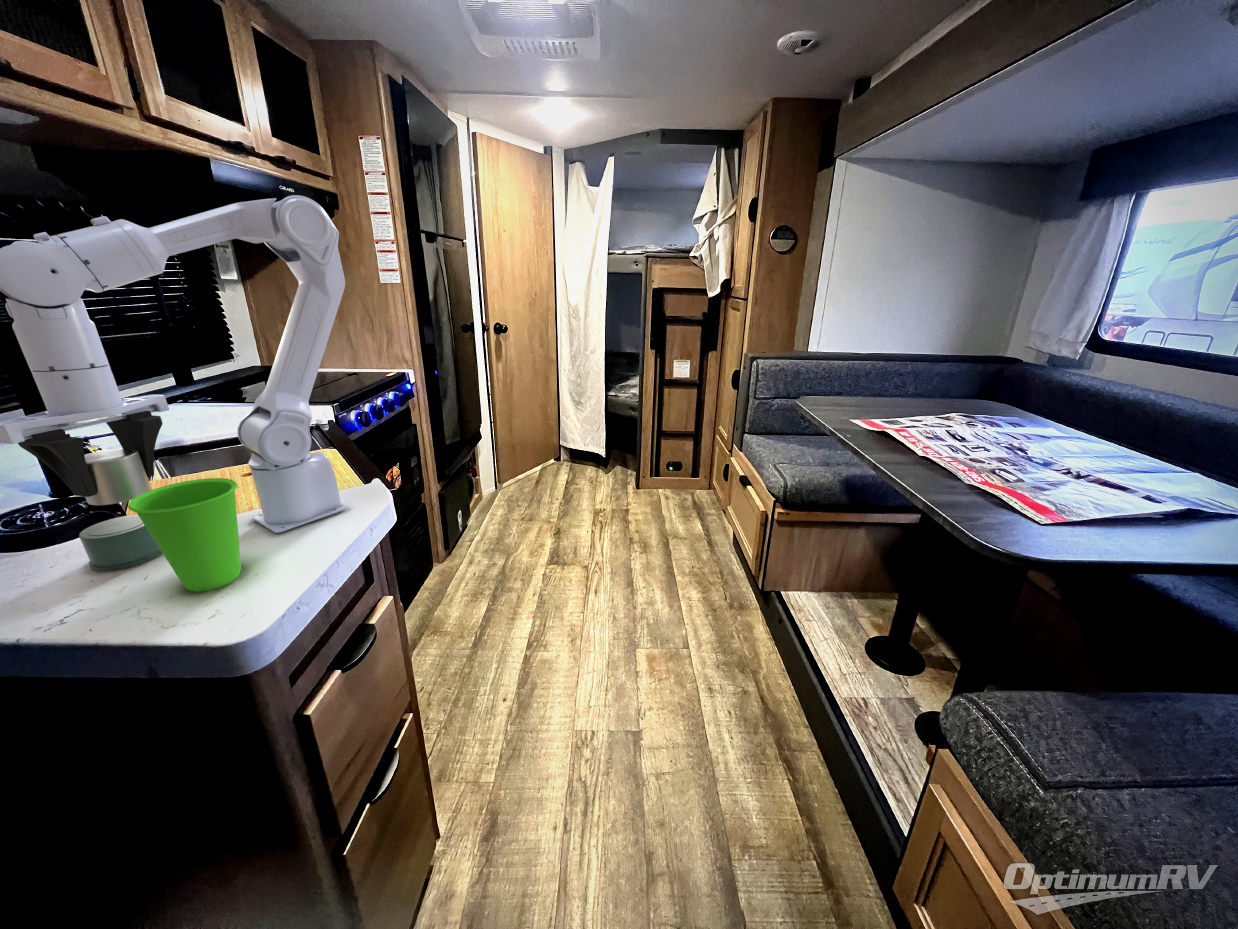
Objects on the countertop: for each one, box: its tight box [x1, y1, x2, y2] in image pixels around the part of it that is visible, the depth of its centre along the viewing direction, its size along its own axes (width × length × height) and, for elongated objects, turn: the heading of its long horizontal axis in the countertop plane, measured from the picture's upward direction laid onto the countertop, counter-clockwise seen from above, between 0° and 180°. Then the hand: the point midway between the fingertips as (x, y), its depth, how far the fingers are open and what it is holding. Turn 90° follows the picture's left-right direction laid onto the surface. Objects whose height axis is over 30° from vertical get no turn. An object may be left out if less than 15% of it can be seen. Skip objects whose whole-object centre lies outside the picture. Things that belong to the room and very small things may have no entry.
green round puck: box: [78, 514, 163, 573], centre depth 59 cm, size 7×7×4 cm
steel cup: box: [84, 448, 153, 506], centre depth 55 cm, size 5×5×5 cm
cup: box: [127, 477, 242, 593], centre depth 54 cm, size 9×9×11 cm
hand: (117, 485), depth 55 cm, fingers closed on steel cup, 5 cm apart
